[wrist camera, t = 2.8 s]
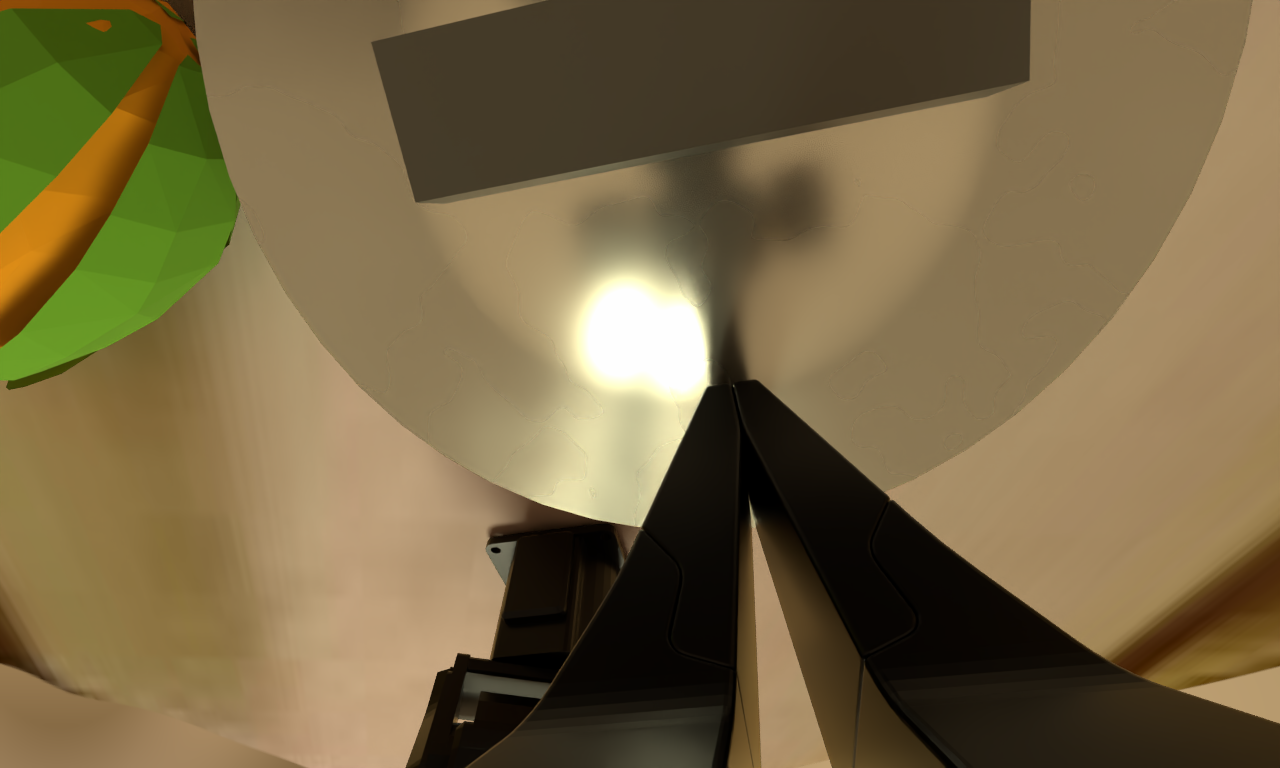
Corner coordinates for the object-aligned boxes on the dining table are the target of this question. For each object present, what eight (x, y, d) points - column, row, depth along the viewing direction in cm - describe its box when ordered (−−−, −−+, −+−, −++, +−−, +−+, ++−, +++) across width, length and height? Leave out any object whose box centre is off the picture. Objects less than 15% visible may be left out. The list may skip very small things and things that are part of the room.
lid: (1152, 450, 10) (1306, 526, 8) (396, 543, 12) (321, 632, 9) (1262, -853, 6) (1678, -1614, 3) (69, -420, 8) (-225, -724, 5)
